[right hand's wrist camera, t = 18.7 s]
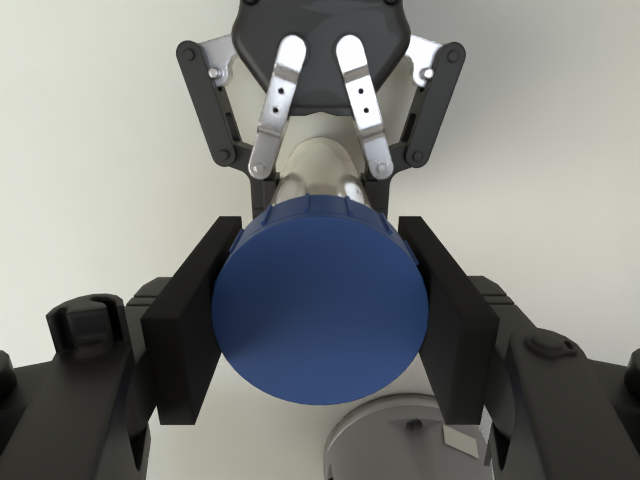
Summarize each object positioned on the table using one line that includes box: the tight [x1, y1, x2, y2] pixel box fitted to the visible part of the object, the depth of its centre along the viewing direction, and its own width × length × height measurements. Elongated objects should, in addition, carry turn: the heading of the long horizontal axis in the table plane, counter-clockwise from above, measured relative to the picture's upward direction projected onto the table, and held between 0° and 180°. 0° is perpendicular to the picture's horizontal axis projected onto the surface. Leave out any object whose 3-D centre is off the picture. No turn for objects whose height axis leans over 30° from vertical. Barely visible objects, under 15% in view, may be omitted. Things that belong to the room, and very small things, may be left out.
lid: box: [211, 193, 429, 405], centre depth 11 cm, size 6×6×2 cm
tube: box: [269, 137, 373, 209], centre depth 19 cm, size 5×5×18 cm
